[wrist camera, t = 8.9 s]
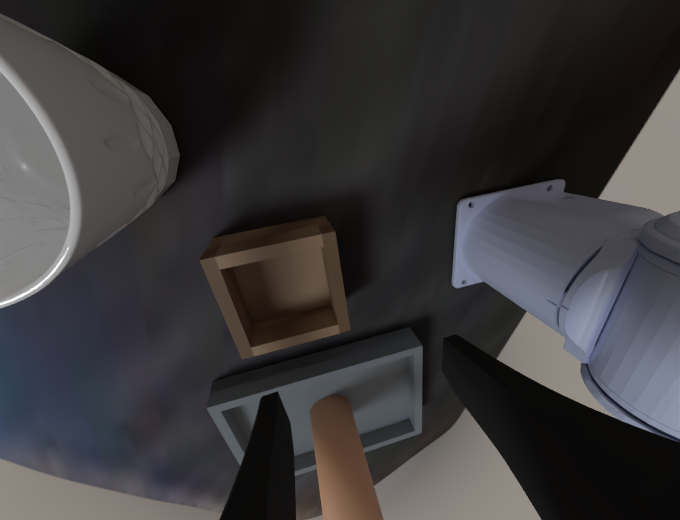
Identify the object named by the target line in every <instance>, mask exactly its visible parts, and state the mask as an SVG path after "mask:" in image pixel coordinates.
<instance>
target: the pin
mask: <svg viewBox="0 0 680 520" xmlns="http://www.w3.org/2000/svg"><path fill="white" fill-rule="evenodd" d="M310 420H311V427H312V435H313V443H314V450H315V458H316V466H317V473H318V481H319V489H320V496H321V504H322V512H323V519H324V520H383V517H382V513H381V510H380V506H379V503H378V499H377V496H376V492H375V489H374V485H373V482H372V478H371V475H370V471H369V468H368V464H367V461H366V457H365V454H364V450H363V447H362V443H361V440H360V436H359V433H358V429H357V426H356V422H355V419H354V415H353V412H352V408H351V405H350V402H349V400H348V399H347V398H346V397H344V396H341V395H331V396H327V397H324V398H322V399H320V400H318V401H317V402H316V403H315V404H314V405H313V406H312V408H311V410H310Z"/></svg>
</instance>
